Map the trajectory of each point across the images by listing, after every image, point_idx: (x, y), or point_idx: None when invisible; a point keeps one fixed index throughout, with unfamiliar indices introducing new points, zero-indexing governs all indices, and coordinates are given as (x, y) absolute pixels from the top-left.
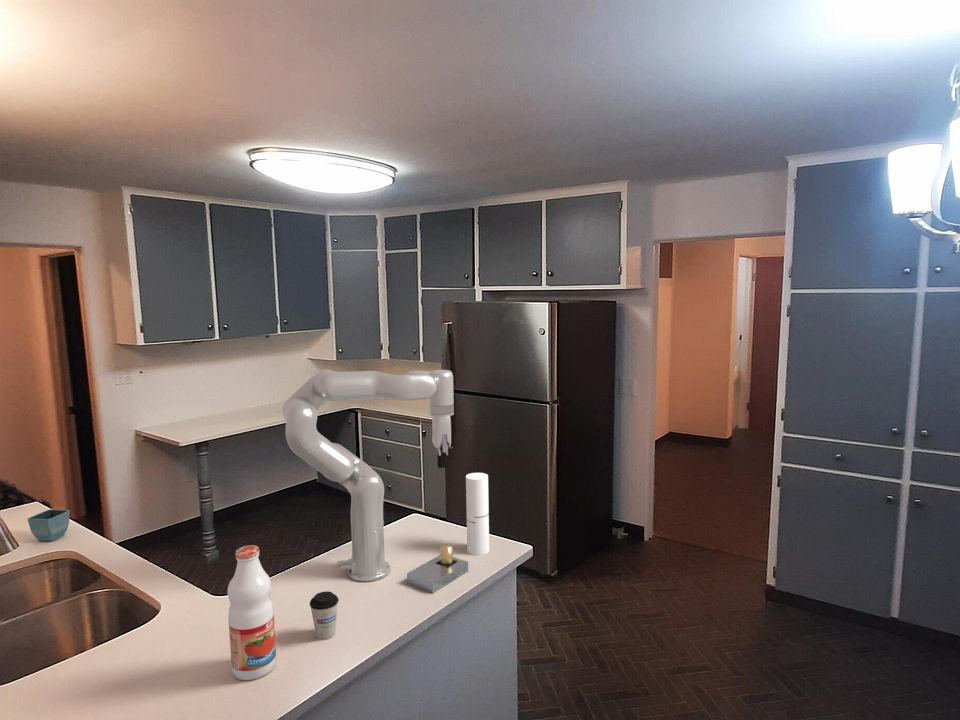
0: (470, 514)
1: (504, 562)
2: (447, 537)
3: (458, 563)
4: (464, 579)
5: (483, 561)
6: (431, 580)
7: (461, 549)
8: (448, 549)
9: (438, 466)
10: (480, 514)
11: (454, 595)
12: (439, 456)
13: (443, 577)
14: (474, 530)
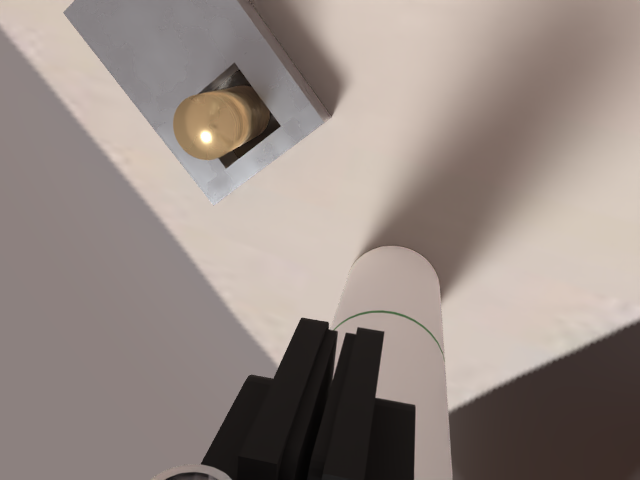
0: (342, 340)
1: (261, 338)
2: (594, 209)
3: (207, 163)
4: (170, 161)
5: (291, 274)
6: (86, 10)
7: (431, 230)
8: (175, 130)
9: (298, 326)
10: None
11: (65, 92)
12: (242, 468)
13: (108, 69)
14: (338, 311)
